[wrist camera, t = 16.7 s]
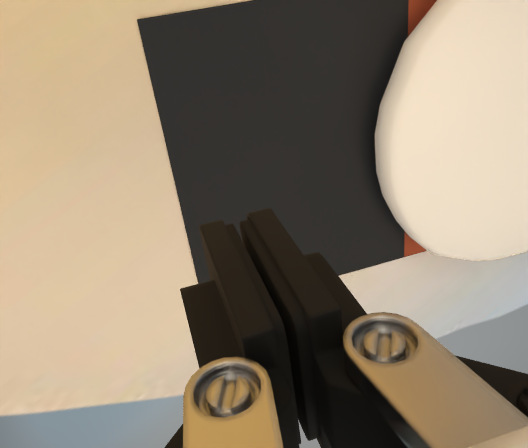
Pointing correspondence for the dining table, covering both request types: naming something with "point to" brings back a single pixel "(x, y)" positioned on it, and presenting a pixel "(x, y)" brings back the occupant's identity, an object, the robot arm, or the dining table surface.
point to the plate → (459, 131)
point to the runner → (282, 119)
